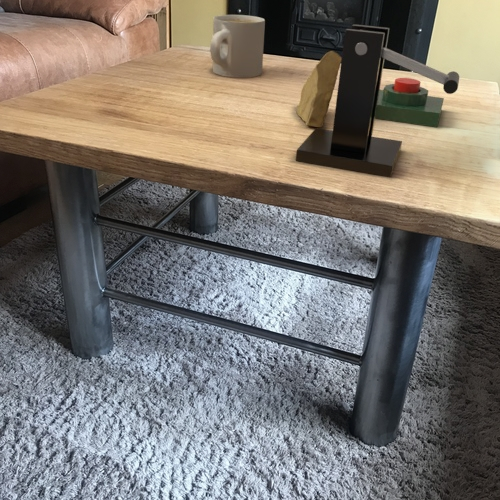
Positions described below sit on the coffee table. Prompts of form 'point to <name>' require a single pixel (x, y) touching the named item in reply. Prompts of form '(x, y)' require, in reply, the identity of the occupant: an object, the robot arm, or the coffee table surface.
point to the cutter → (355, 111)
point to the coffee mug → (237, 45)
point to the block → (409, 106)
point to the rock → (319, 90)
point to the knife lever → (423, 70)
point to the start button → (407, 85)
